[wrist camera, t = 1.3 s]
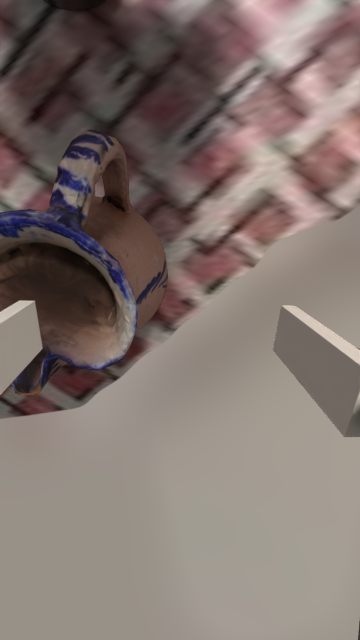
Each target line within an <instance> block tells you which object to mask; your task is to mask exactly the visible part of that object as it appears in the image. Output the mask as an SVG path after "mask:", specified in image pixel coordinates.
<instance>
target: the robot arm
mask: <svg viewBox="0 0 360 640" xmlns="http://www.w3.org/2000/svg"><path fill="white" fill-rule="evenodd" d="M44 1H46V2H47V3H49V4H51V5H53V6H56V7H59V8H62V9H67V10H85V9H89V8H92V7H95V6H97V5H99V4H101V3H102V2H104V1H105V0H44ZM42 349H43V348H42V341H41V335H40V329H39V323H38V317H37V311H36V305H35V301H18V302H16V303H14V304H13V305H11V306H9V307H8V308H6V309H4V310H3V311H1V312H0V395H1V394H2V393H3V392H4V391H5V389H6V388H7V387H8V386H9V385H10V384H11V383H12V382H13V381H14V380H15V378H16V377H17V376H18V375H19V374H20V373H21V372H22V371H23V370H24V368H25V367H26V366H27V365H28V364H29V363H30V362H31V361H32V360H33V359H34V357H35V356H36V355H37V354H38V353H39V352H40V351H41V350H42ZM273 350H274V352H275V353H276V354H277V355H278V357H279V358H280V359H281V360H282V362H283V363H284V364H285V365H286V366H287V368H288V369H289V370H290V371H291V373H293V375H294V376H295V377H296V379H297V380H298V381H299V382H300V384H301V385H302V386H303V387H304V388H305V389H306V391H307V392H308V393H309V394H310V396H311V397H312V398H313V399H314V400H315V402H316V403H317V404H318V406H319V407H320V408H321V409H322V410H323V412H324V413H325V414H326V415H327V416H328V418H329V419H330V420H331V421H332V422H333V424H334V425H335V426H336V427H337V429H338V430H339V431H340V432H341V434H342V435H343V436H344V437H360V349H358V348H356V347H354V346H353V345H351V344H350V343H348V342H347V341H346V340H344V339H343V338H341V337H340V336H338V335H337V334H335V333H334V332H332V331H331V330H329V329H328V328H326V327H325V326H323V325H322V324H321V323H319V322H318V321H316V320H315V319H313V318H312V317H310V316H309V315H308V314H306V313H304V312H303V311H302V310H300V309H299V308H297V307H296V306H281V310H280V316H279V321H278V326H277V332H276V337H275V343H274V348H273ZM358 640H360V623H359V635H358Z"/></svg>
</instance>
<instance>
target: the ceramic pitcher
mask: <svg viewBox="0 0 360 640" xmlns="http://www.w3.org/2000/svg"><path fill="white" fill-rule="evenodd" d="M101 174H102V178H103V182H104V190H105V196H104V197H103V198H102V197H95V196H94V194H95V184H96V183H97V181H98V180H99V176H100V175H101ZM167 278H168V273H167V263H166V257H165V252H164V249H163V246H162V244H161V241H160V239H159V237H158V235H157V234H156V233H155V231H154V230H153V228H152V227H151V225H150V224H149V223H148V222H147V221H146V220H145V219H144V218H143V217H142V216H141V215H140V214H138V213H137V212H136V211H135V210H134V209H133V207H132V205H131V204H130V200H129V178H128V166H127V160H126V155H125V152H124V150H123V148H122V146H121V144H120V143H119V142H118V141H117V140H116V138H114V137H111V136H108V135H106V134H105V133H103V132H102V131H100V130H88V131H86V132H84V133H83V134H81V135H80V136H78V137H77V138H75V139H74V140H73V141H71V143H70V145H69V146H68V148H67V150H66V152H65V153H64V155H63V157H62V159H61V161H60V163H59V166H58V175H57V177H56V181H55V184H54V188H53V191H52V197H51V200H50V207H48V208H47V209H45V210H43V211H38V210H30V209H29V210H18V211H9V212H1V213H0V312H1V311H3V310H4V309H6V308H8V307H9V306H11V305H13V304H14V303H16V302H18V301H35V305H36V311H37V317H38V323H39V329H40V335H41V341H42V348H43V349H42V350H41V351H40V352H39V353H38V354H37V355H36V356H35V357H34V359H33V360H32V361H31V362H30V363H29V364H28V365H27V366H26V367H25V368H24V370H23V371H22V372H21V373H20V374H19V375H18V376H17V377H16V378H15V380H14V381H13V382H12V383H11V384H10V385H11V387H12V388H13V390H14V392H15V393H17V394H20V395H34V394H37V393H39V392H40V391H41V390H42V389H43V387H44V386H45V384H46V383H47V381H48V379H49V378H50V377H51V376H52V375H53V374H54V373H55V372H56V371H57V370H58V369H59V368H60V367H62V366H64V365H66V364H70V365H72V366H74V367H76V368H82V369H91V370H99V369H103V368H106V367H109V366H111V365H113V364H115V363H117V362H118V361H120V360H122V359H123V358H124V356H125V354H126V353H127V351H128V349H129V347H130V345H131V342H132V340H133V338H134V334H135V332H137V331H138V330H139V329H141V328H142V327H143V326H144V325H145V324H146V323H147V322H148V321H149V320H150V319H151V318H152V317H153V315H154V314H155V312H156V311H157V309H158V308H159V306H160V304H161V302H162V300H163V297H164V294H165V291H166V287H167Z"/></svg>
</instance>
